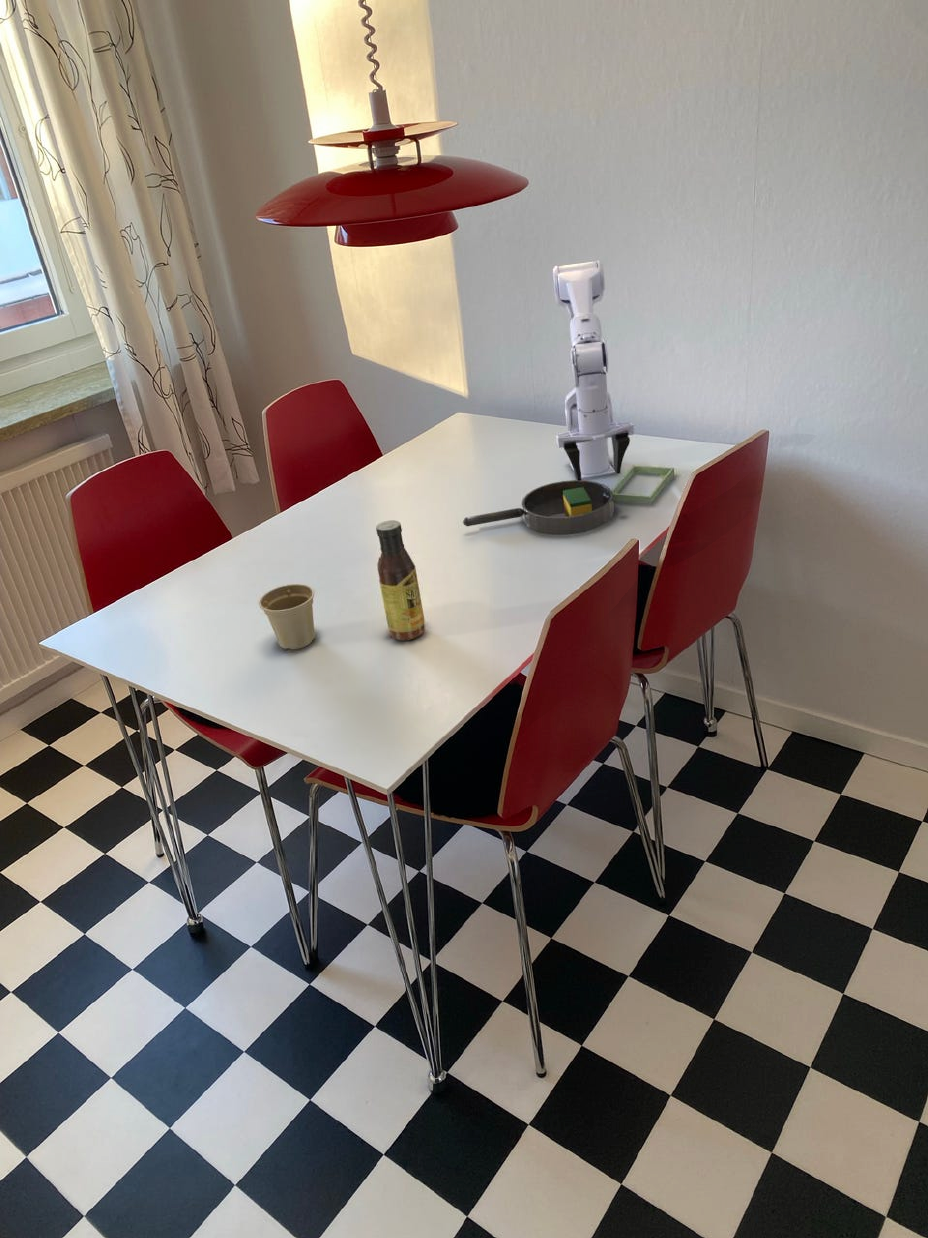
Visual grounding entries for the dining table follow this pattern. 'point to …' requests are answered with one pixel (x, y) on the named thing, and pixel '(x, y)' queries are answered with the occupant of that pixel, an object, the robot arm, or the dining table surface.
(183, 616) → the dining table surface
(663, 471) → the sponge tray
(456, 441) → the dining table surface
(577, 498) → the sponge
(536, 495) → the pan
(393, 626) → the sauce bottle
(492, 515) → the pan handle
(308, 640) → the flower pot
